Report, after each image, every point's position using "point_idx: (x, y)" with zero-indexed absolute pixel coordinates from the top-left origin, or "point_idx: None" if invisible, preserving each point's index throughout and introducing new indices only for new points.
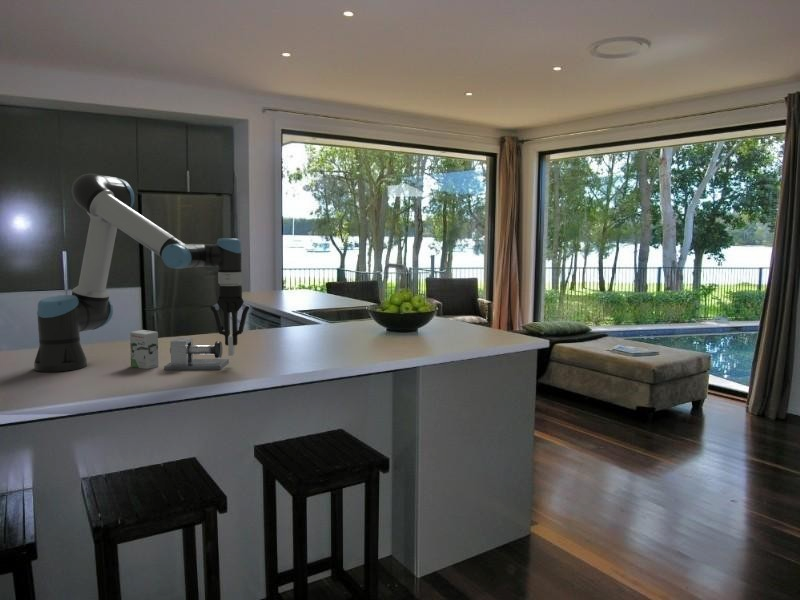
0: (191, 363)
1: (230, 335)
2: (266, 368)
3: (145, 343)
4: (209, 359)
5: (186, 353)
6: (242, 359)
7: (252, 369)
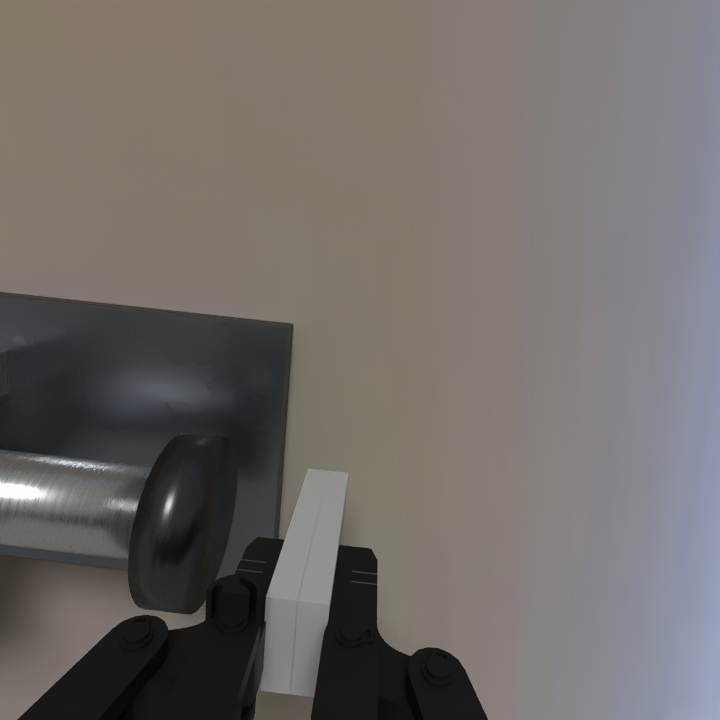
0: None
1: (279, 622)
2: (587, 577)
3: None
4: (128, 329)
5: None
6: (392, 201)
7: (490, 592)
